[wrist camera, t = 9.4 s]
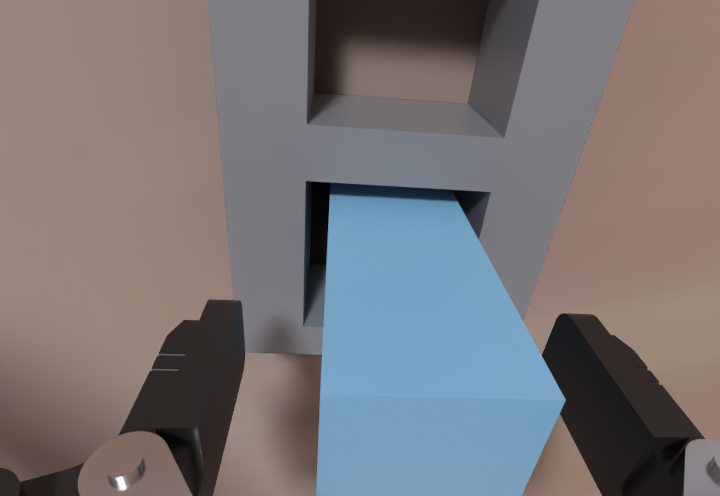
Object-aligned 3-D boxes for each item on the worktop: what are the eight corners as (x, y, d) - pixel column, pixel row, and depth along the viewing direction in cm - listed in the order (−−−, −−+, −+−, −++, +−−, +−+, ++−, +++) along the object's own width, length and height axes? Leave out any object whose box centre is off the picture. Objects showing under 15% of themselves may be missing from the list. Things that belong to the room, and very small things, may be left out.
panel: (205, -704, 8) (103, -1232, 4) (723, -598, 9) (975, -979, 5) (256, 286, 19) (237, 352, 16) (480, 295, 20) (509, 360, 16)
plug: (331, 158, 16) (320, 395, 7) (437, 164, 17) (565, 399, 7) (327, 249, 18) (314, 530, 9) (422, 253, 19) (506, 529, 9)
